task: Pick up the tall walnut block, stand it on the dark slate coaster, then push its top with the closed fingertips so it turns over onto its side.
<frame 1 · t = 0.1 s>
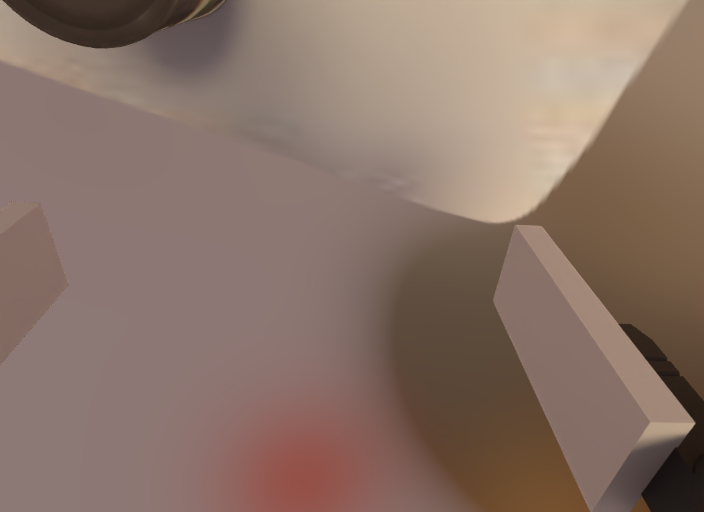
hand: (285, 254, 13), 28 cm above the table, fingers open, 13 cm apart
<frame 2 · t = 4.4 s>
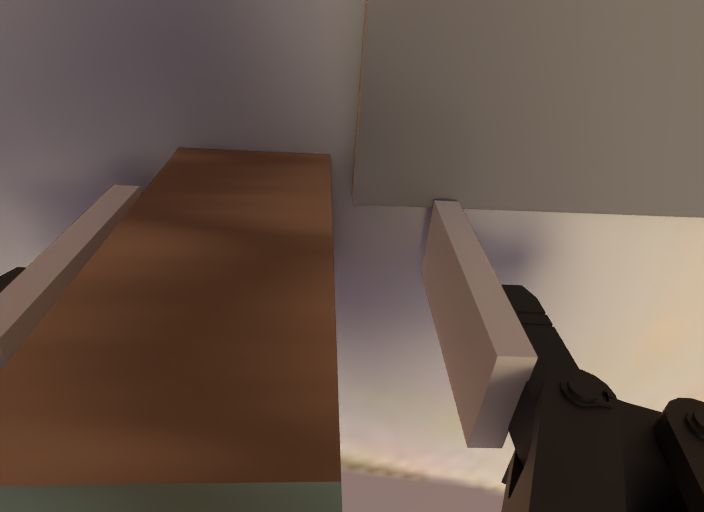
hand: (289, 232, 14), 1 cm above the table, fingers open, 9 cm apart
walnut block: (258, 217, 15), on the table
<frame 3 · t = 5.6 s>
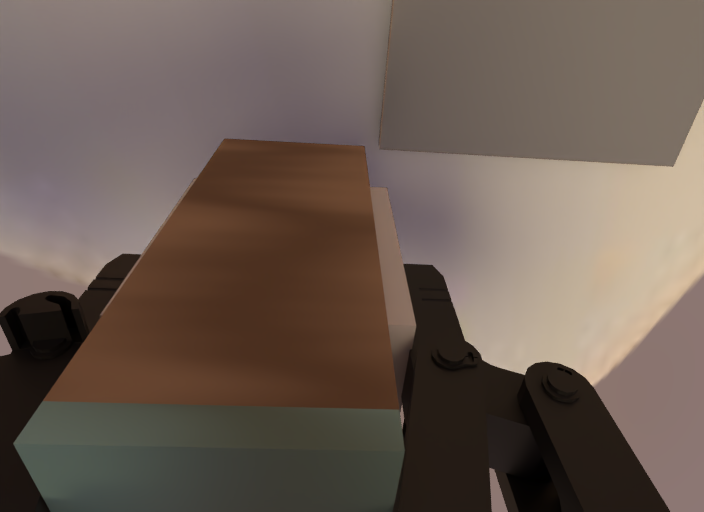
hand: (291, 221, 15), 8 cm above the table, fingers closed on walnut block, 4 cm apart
walnut block: (295, 205, 16), point 7 cm above the table, touching gripper
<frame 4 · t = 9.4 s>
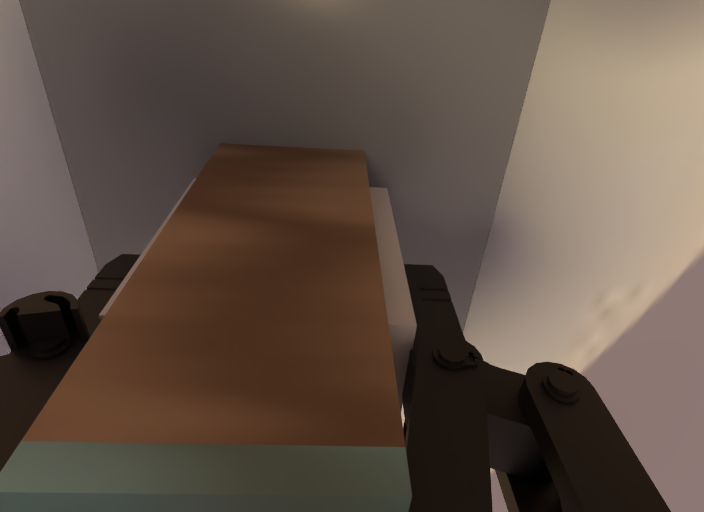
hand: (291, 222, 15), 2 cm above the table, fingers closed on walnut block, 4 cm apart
walnut block: (293, 211, 15), point 1 cm above the table, touching gripper, slate coaster
slate coaster: (292, 197, 16), on the table
when the fingers open (1 cm above the table, at t = 10.0 s): walnut block stays where it is, resting on slate coaster.
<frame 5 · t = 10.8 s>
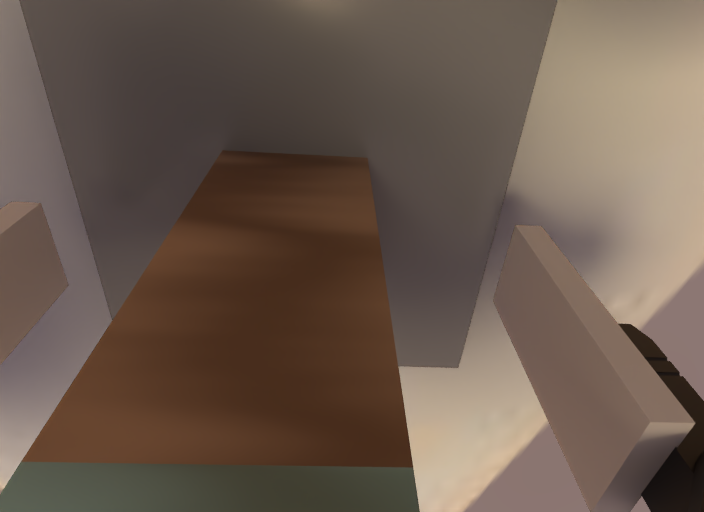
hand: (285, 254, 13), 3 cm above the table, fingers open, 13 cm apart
walnut block: (295, 218, 15), point 1 cm above the table, touching slate coaster
slate coaster: (295, 204, 16), on the table
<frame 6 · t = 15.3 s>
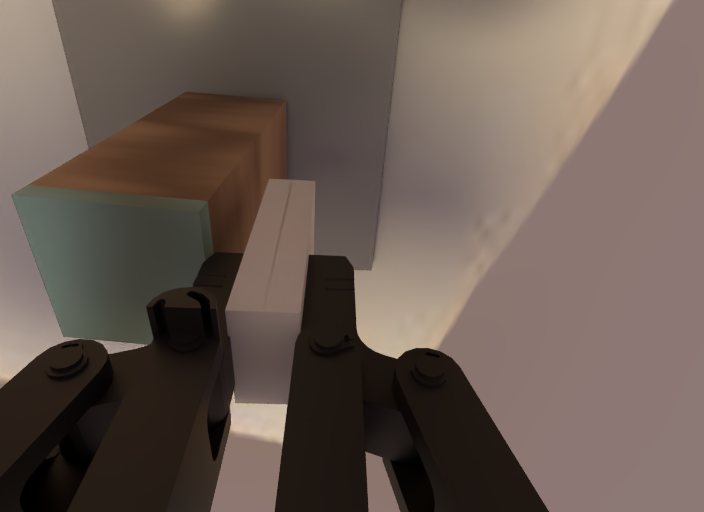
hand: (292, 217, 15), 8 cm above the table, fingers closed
walnut block: (239, 145, 21), point 1 cm above the table, tilted 5°, touching slate coaster
slate coaster: (241, 136, 22), on the table
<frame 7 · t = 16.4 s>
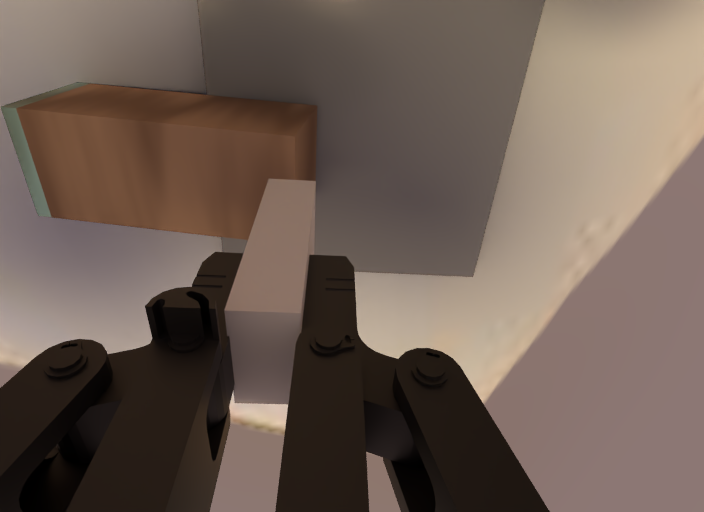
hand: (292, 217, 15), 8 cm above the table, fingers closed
walnut block: (306, 172, 19), point 4 cm above the table, tilted 98°, touching slate coaster
slate coaster: (359, 144, 22), on the table
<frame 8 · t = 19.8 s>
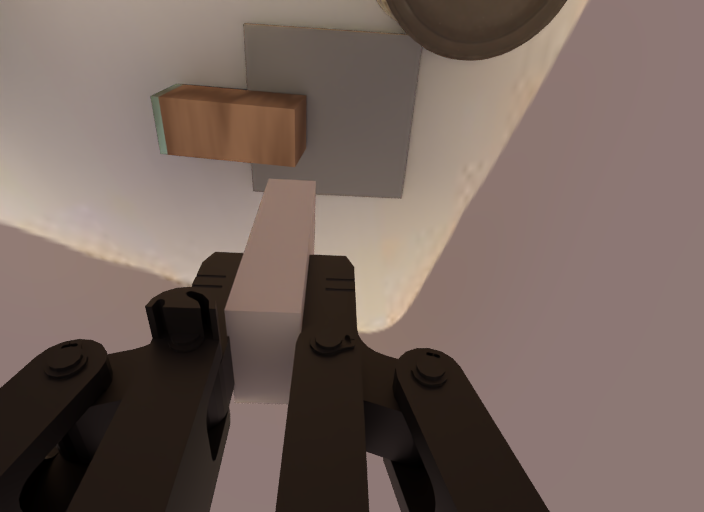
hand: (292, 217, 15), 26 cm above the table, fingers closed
walnut block: (300, 130, 36), point 4 cm above the table, tilted 98°, touching slate coaster
slate coaster: (330, 118, 39), on the table
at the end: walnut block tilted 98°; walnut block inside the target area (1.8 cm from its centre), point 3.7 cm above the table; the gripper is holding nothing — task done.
